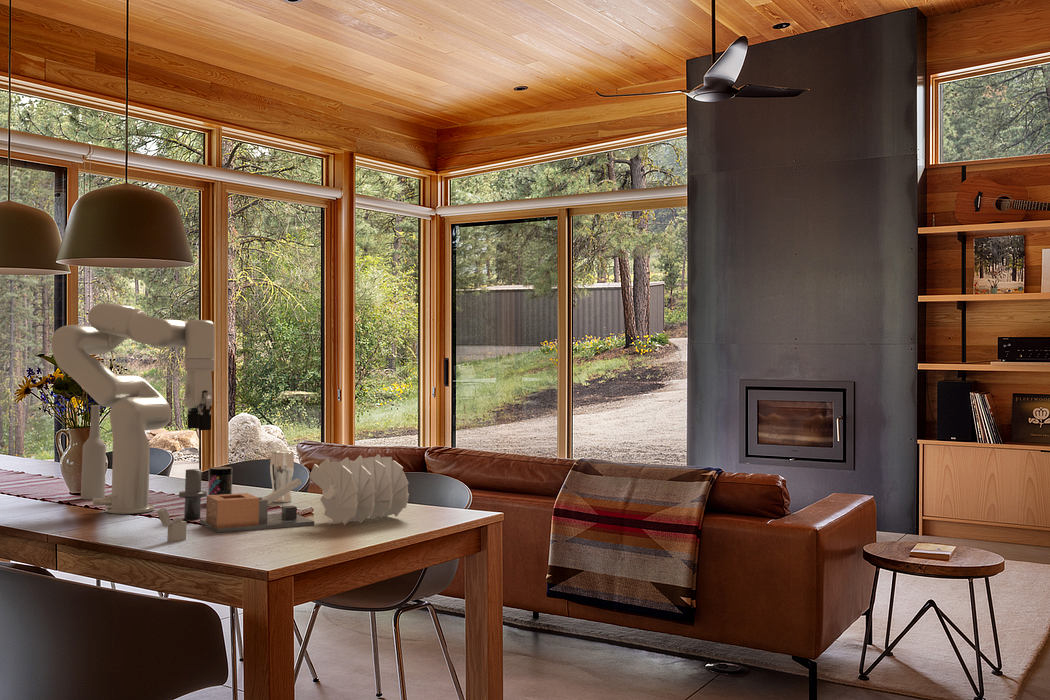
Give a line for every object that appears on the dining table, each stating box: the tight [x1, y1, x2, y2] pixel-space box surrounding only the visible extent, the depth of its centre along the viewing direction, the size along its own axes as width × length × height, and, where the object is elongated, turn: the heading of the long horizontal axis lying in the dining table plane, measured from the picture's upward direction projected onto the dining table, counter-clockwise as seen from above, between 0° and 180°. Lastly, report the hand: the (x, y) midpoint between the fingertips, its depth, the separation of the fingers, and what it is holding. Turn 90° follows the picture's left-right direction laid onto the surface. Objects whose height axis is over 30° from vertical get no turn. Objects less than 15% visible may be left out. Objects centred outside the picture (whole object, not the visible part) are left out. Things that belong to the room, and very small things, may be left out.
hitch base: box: [199, 492, 315, 534], centre depth 241 cm, size 25×16×8 cm, turn 123°
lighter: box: [156, 507, 188, 543], centre depth 216 cm, size 7×2×8 cm, turn 148°
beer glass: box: [269, 450, 295, 504], centre depth 282 cm, size 7×7×15 cm
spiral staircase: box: [309, 453, 410, 526], centre depth 250 cm, size 18×18×25 cm
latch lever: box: [261, 478, 303, 505], centre depth 245 cm, size 12×2×1 cm, turn 124°
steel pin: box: [178, 468, 208, 521], centre depth 248 cm, size 7×7×13 cm
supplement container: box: [207, 466, 233, 495], centre depth 276 cm, size 7×7×10 cm
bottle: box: [80, 404, 107, 501], centre depth 280 cm, size 7×7×28 cm
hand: (199, 429), depth 250 cm, fingers open, 9 cm apart
